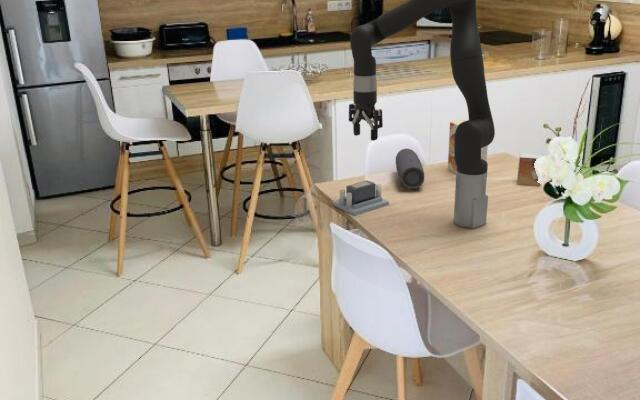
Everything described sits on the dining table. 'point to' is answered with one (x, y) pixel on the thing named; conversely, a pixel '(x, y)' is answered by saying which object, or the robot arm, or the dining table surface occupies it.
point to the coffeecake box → (451, 160)
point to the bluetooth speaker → (409, 168)
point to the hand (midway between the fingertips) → (365, 137)
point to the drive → (362, 191)
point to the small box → (527, 169)
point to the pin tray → (356, 209)
